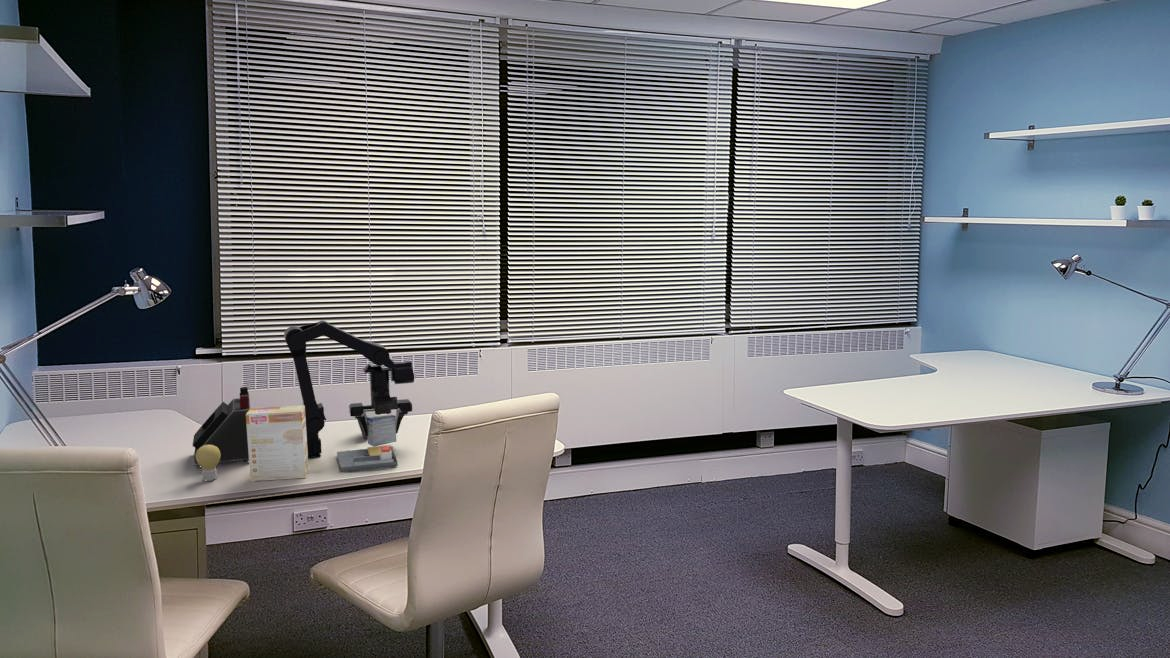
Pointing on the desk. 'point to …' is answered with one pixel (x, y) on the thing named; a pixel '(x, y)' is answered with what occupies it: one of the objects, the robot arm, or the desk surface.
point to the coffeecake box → (277, 443)
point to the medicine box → (381, 429)
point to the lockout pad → (374, 450)
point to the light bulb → (208, 461)
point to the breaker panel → (363, 460)
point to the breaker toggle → (385, 453)
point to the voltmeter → (227, 429)
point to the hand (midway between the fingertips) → (381, 434)
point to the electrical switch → (367, 414)
